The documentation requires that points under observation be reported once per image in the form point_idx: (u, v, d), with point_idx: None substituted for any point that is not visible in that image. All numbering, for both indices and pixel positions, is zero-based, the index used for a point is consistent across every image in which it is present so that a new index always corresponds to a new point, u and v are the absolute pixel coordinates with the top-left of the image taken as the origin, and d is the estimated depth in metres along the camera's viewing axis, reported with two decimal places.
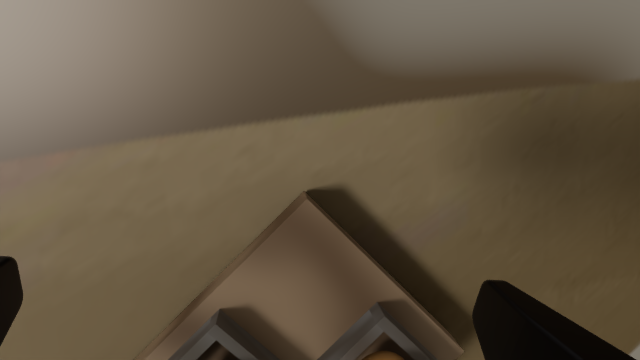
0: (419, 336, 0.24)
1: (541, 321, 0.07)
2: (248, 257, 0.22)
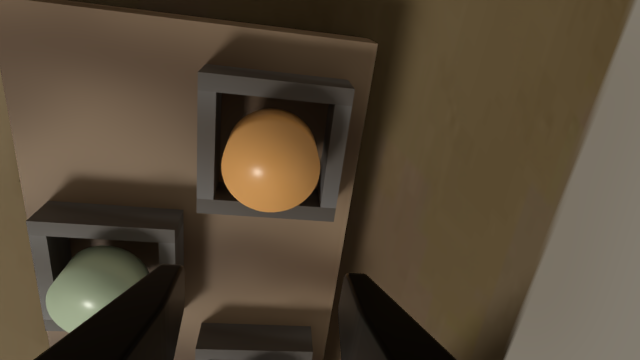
0: (299, 67, 0.15)
1: (373, 315, 0.07)
2: (11, 124, 0.15)
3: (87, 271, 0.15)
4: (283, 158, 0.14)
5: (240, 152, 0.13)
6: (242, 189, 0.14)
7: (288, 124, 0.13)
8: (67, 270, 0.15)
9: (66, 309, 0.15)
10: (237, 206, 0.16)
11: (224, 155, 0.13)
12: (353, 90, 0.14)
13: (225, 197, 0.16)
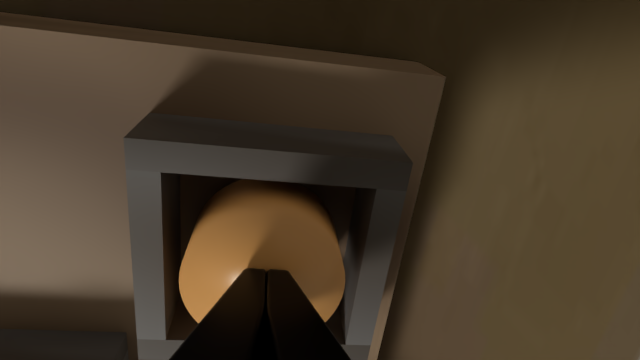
0: (312, 116, 0.09)
1: (277, 312, 0.06)
2: None
3: None
4: (284, 269, 0.08)
5: (210, 261, 0.08)
6: None
7: (292, 215, 0.08)
8: None
9: None
10: None
11: (183, 266, 0.08)
12: (410, 165, 0.08)
13: (187, 331, 0.09)
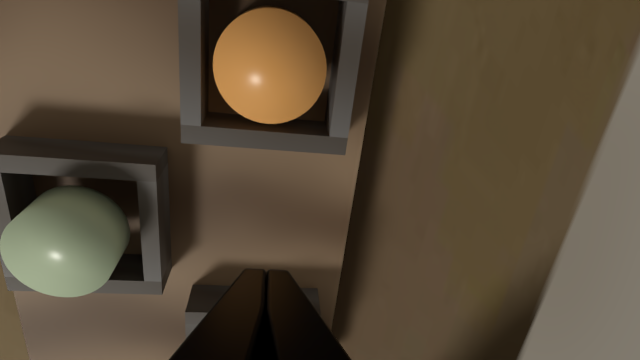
0: None
1: (277, 312, 0.06)
2: None
3: (47, 210, 0.12)
4: (284, 56, 0.12)
5: (234, 47, 0.12)
6: (237, 94, 0.12)
7: (289, 13, 0.11)
8: (24, 210, 0.12)
9: (26, 259, 0.13)
10: (230, 135, 0.13)
11: (216, 51, 0.12)
12: None
13: (215, 124, 0.13)
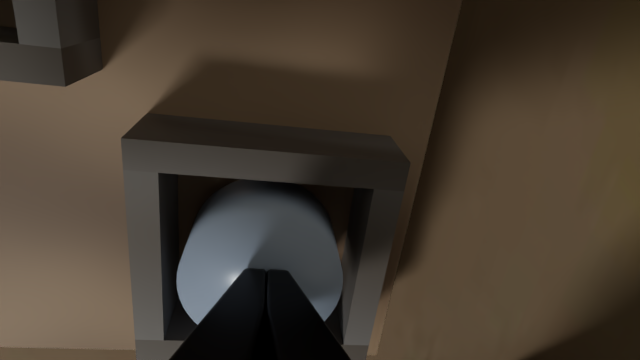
0: None
1: (277, 312, 0.06)
2: None
3: None
4: None
5: None
6: None
7: None
8: None
9: None
10: None
11: None
12: None
13: None
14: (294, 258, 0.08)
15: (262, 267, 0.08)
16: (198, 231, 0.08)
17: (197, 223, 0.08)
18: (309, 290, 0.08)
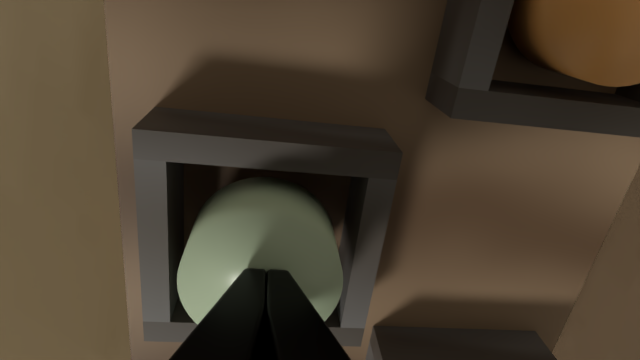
0: None
1: (277, 312, 0.06)
2: None
3: (264, 214, 0.08)
4: None
5: None
6: (578, 35, 0.07)
7: None
8: (220, 214, 0.08)
9: (213, 290, 0.08)
10: (526, 106, 0.08)
11: None
12: None
13: (500, 90, 0.08)
14: None
15: None
16: None
17: None
18: None
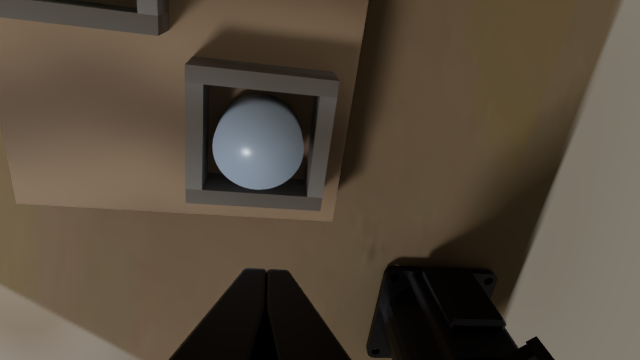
0: None
1: (277, 312, 0.06)
2: None
3: None
4: None
5: None
6: None
7: None
8: None
9: None
10: None
11: None
12: None
13: None
14: (276, 133, 0.15)
15: (259, 138, 0.15)
16: (224, 116, 0.14)
17: (222, 116, 0.15)
18: (285, 153, 0.15)
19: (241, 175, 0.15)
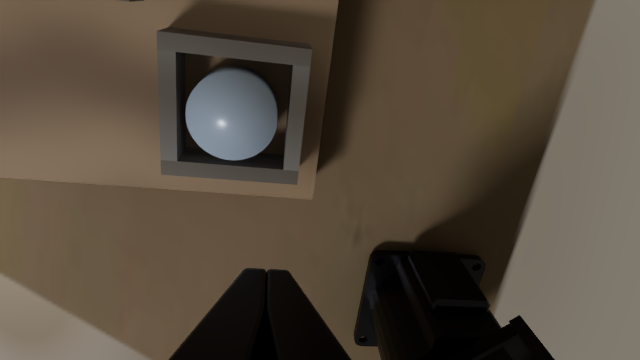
0: None
1: (277, 312, 0.06)
2: None
3: None
4: None
5: None
6: None
7: None
8: None
9: None
10: None
11: None
12: None
13: None
14: (249, 102, 0.15)
15: (232, 107, 0.15)
16: (197, 84, 0.14)
17: None
18: (258, 123, 0.15)
19: (215, 145, 0.15)
